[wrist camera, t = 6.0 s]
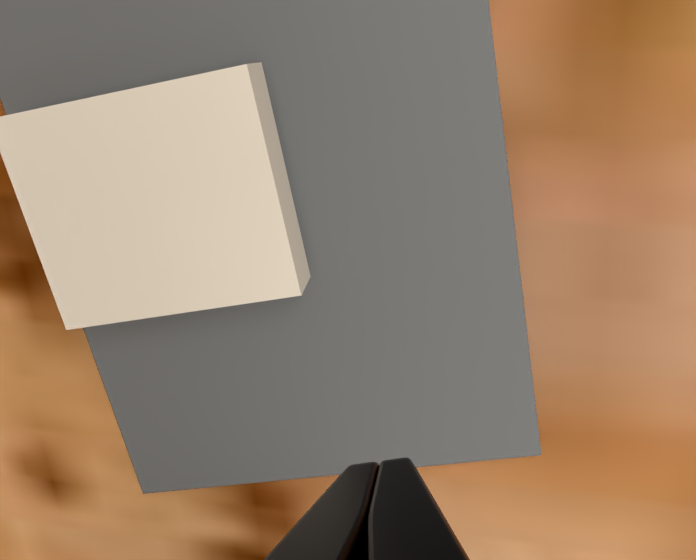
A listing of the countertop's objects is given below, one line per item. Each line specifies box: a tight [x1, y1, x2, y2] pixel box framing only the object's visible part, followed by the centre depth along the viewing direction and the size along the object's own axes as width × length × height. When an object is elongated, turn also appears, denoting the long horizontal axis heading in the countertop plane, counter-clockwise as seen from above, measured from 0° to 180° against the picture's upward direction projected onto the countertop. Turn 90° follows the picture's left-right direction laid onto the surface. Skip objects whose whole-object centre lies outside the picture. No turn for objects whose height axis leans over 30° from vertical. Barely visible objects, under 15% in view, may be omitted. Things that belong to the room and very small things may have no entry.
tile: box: [0, 62, 311, 330], centre depth 18 cm, size 6×2×7 cm
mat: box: [0, 0, 541, 494], centre depth 19 cm, size 18×14×1 cm
